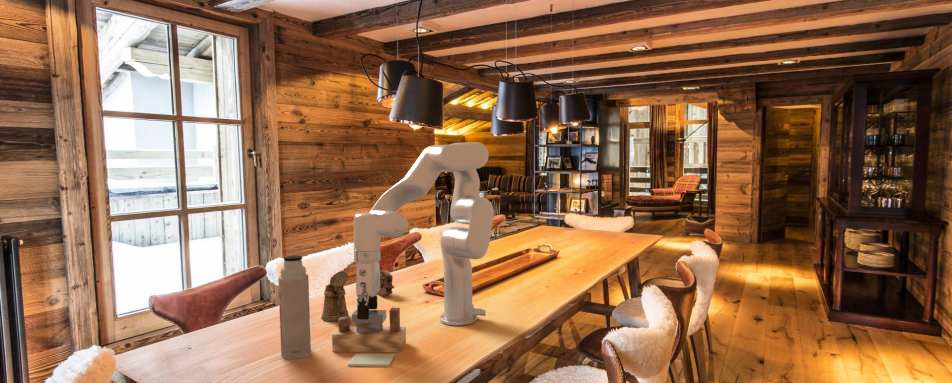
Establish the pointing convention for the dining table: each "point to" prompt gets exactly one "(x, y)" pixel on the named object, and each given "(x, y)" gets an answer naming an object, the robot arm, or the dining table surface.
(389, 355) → the felt mat
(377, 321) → the lever cap
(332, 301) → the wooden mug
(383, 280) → the wooden carving
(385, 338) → the body
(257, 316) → the dining table surface
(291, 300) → the thermos bottle
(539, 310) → the dining table surface
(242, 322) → the dining table surface
